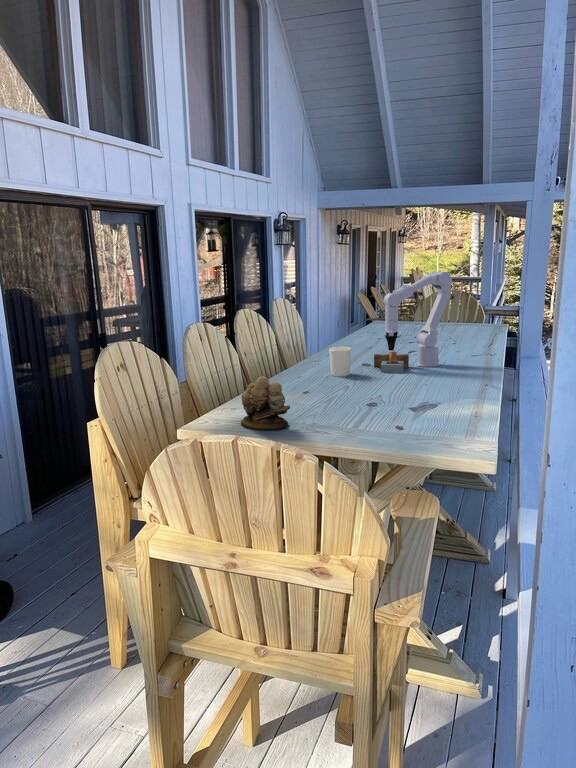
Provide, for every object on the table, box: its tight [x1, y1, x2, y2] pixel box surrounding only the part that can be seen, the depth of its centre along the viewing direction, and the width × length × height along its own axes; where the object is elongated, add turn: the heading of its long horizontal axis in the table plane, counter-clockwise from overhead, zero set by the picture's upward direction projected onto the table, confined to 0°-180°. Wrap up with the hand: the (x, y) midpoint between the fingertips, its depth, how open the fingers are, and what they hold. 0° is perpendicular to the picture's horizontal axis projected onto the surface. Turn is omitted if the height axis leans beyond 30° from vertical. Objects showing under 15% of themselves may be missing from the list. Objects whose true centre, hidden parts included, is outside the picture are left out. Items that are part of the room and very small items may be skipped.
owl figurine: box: [240, 375, 291, 432], centre depth 180 cm, size 18×12×17 cm, turn 65°
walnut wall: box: [373, 353, 410, 369], centre depth 259 cm, size 16×3×6 cm, turn 77°
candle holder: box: [328, 346, 352, 377], centre depth 247 cm, size 10×10×12 cm
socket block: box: [380, 361, 405, 374], centre depth 253 cm, size 10×10×4 cm
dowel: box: [388, 351, 398, 364], centre depth 252 cm, size 3×3×8 cm
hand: (391, 348), depth 254 cm, fingers open, 7 cm apart
